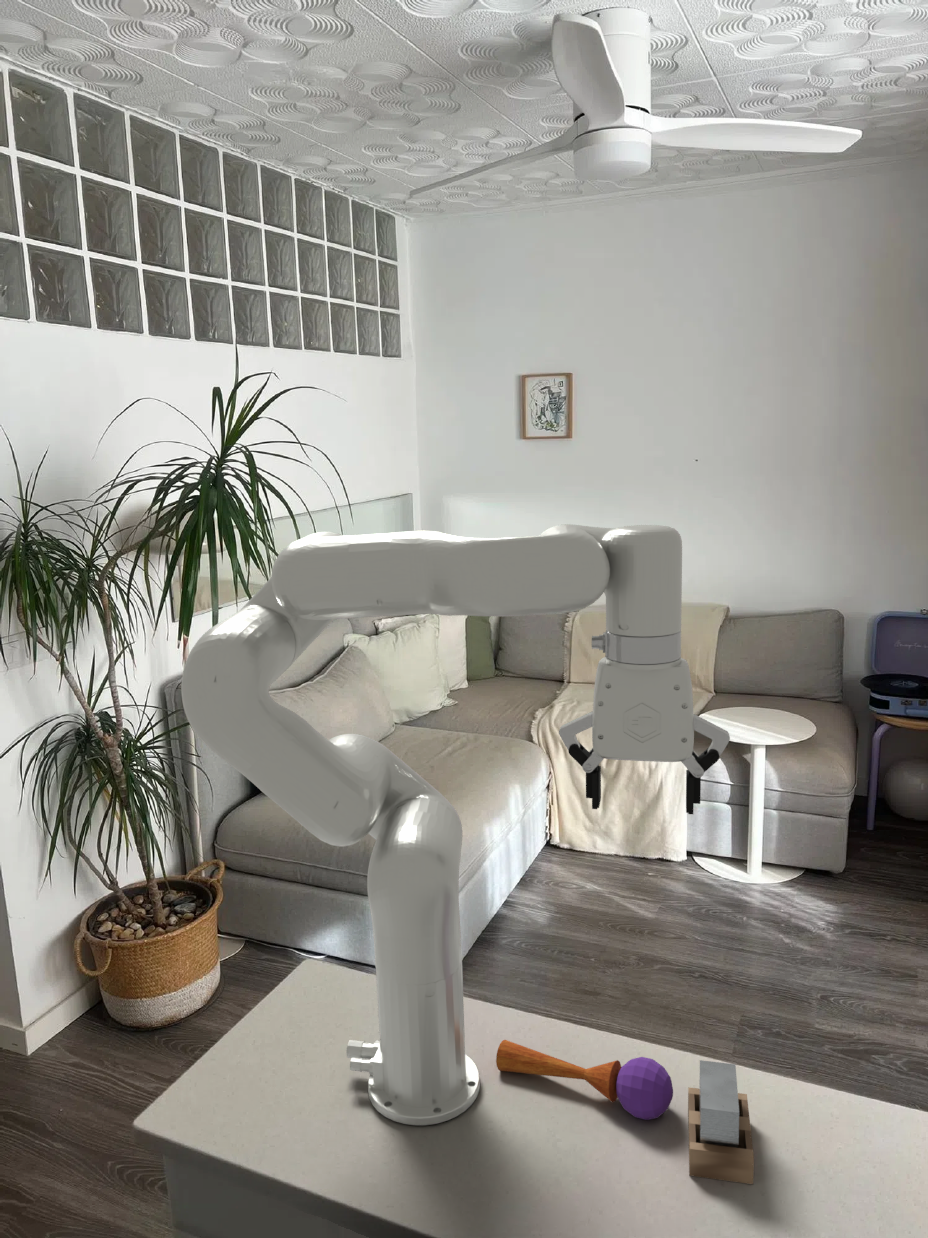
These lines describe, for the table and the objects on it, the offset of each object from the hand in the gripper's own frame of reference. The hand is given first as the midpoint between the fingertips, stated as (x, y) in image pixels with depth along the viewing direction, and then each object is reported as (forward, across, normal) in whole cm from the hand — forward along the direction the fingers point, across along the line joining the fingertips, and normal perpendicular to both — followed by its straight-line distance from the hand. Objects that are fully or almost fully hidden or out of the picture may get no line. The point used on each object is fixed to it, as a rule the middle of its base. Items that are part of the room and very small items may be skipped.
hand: (642, 807), depth 98 cm
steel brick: (+33, +8, -7) cm, 35 cm away
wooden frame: (+33, +8, -7) cm, 35 cm away
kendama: (+34, -6, -1) cm, 34 cm away
